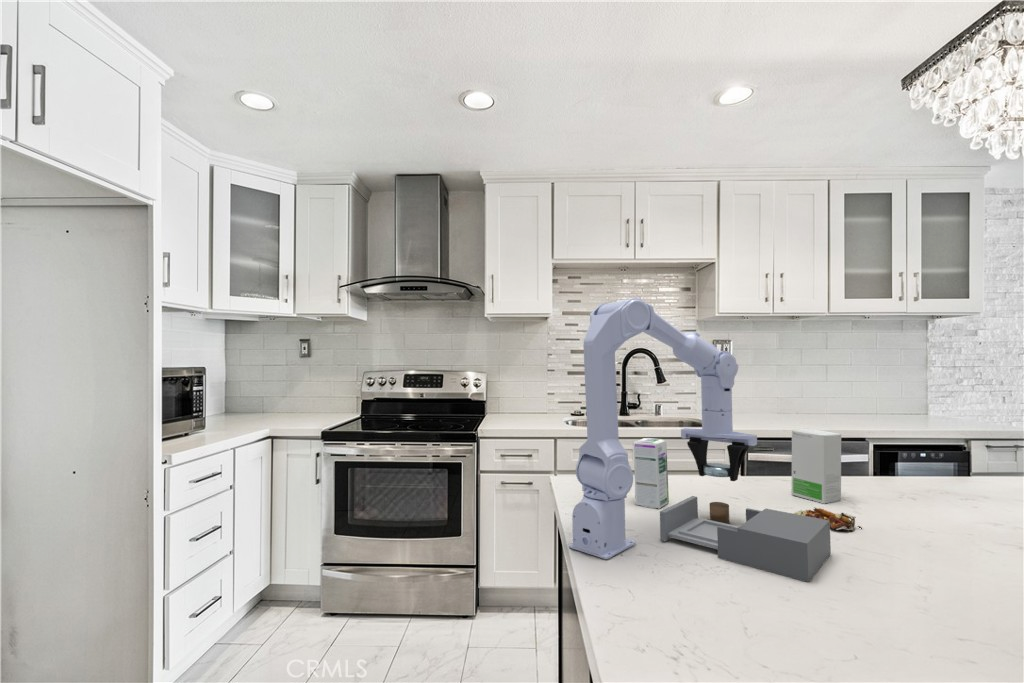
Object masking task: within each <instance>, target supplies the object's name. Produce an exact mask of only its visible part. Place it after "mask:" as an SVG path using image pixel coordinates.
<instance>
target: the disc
mask: <svg viewBox="0 0 1024 683" xmlns="http://www.w3.org/2000/svg"><path fill="white" fill-rule="evenodd" d="M703 473H704V474H705V476H709V477H714V478H715V477H716V478H730V464H727V463H721V462H720V463H719V462H709V463H708V462H707V463H706V464H703Z"/></svg>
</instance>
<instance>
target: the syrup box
mask: <svg viewBox="0 0 1024 683" xmlns="http://www.w3.org/2000/svg"><path fill="white" fill-rule="evenodd" d="M632 445H633V464H634V465H633V466H634V469H633V470H634V473H633V474H634V494H635V495H634V496H635V505H636V506H639V505H641V506H640V507H643V506H646V507H645V508H649V507H652V508H651V509H655V508H658V510H661V508H663V507H665V506H666V505H667V503H668V504H669V502H670V500H669V475H668V474H669V473H668V452H667V451H668V450H667V449H668V447H667V445H668V444H667V440H666V439H664V438H663V439H662V438H656V437H655V438H654V437H652V438H650V437H646V438H644V437H643V438H641V439H639V440H635V441H633V444H632Z"/></svg>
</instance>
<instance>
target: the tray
mask: <svg viewBox="0 0 1024 683" xmlns="http://www.w3.org/2000/svg"><path fill="white" fill-rule="evenodd" d="M698 508H699V507H698V496H693V495H692V496H690V497H687V498H686V499H685V498H684V499H683V500H681V501H679V502H677V503H675V504H673V505H670V506H669V507H667V508H664V509H663V510H660V511H659V533H660V534H659V535H660V536H659V538H660V540H662V541H664V542H666V541H668V540H669V539H671V538H672V539H676V540H680V541H683V542H688V543H692V544H695V545H699V546H703V547H707V548H711V549H714V550H718V536H717V527H718V526H721V527H726V528H730V529H735V530H737V528H738V527H739V525H734V524H730V523H729V524H725V523H721V522H716V521H712V520H710V519H706V518H703V517H700V518H699V515H698V514H699V513H698V512H699V510H698Z"/></svg>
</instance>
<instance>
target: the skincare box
mask: <svg viewBox="0 0 1024 683" xmlns="http://www.w3.org/2000/svg"><path fill="white" fill-rule="evenodd" d="M791 495H792V496H794V497H795V496H796V497H798V498H803V499H806V500H808V501H809V500H810V501H812V500H813V501H812V502H816V503H819V502H820V503H819V504H822V503H824V504H823V505H825V503H827V504H831V503H835V501H836V502H840V501H839V500H841V501H842V434H841V433H837V432H831V431H826V430H821V429H814V428H801V429H800V428H799V429H791ZM830 502H831V503H830Z"/></svg>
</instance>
